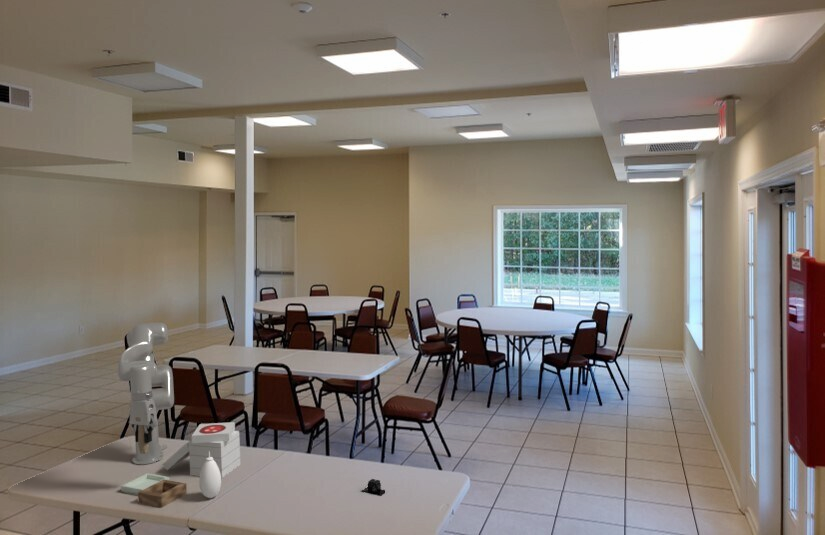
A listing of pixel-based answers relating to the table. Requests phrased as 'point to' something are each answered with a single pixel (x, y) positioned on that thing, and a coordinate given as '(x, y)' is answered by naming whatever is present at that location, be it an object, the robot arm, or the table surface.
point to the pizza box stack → (210, 448)
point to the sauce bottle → (210, 478)
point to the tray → (142, 483)
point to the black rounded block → (374, 488)
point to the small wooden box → (160, 500)
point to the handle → (142, 439)
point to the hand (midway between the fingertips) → (143, 441)
